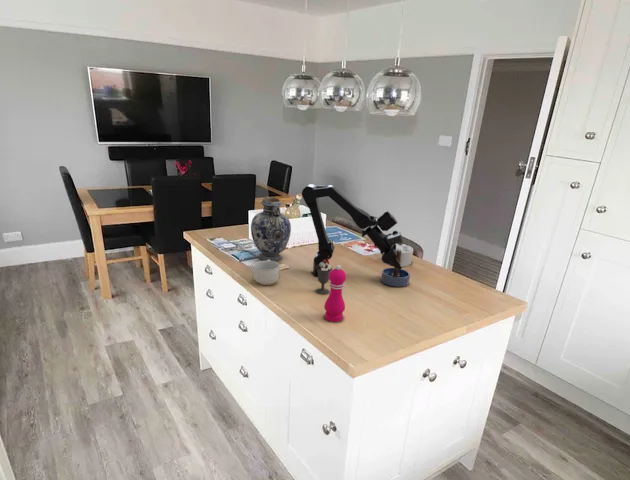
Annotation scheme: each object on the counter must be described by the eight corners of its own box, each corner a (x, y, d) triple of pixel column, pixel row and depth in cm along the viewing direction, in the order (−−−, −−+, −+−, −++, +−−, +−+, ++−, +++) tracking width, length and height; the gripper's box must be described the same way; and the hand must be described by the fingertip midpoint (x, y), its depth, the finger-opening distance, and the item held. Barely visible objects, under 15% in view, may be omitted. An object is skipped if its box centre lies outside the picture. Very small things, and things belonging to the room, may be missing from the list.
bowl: (388, 288, 177) (389, 278, 175) (376, 277, 187) (377, 268, 185) (413, 286, 180) (415, 277, 179) (400, 276, 191) (402, 267, 189)
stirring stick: (396, 283, 181) (401, 252, 176) (389, 281, 183) (393, 250, 177) (400, 281, 184) (404, 250, 178) (392, 278, 186) (397, 248, 180)
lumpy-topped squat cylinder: (383, 261, 208) (385, 244, 205) (400, 257, 216) (402, 241, 213) (399, 267, 201) (402, 250, 198) (416, 263, 209) (419, 246, 206)
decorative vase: (295, 263, 196) (298, 204, 185) (257, 266, 189) (257, 205, 178) (282, 249, 214) (283, 194, 202) (246, 251, 207) (246, 194, 195)
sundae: (332, 290, 171) (335, 255, 165) (327, 296, 165) (330, 260, 159) (317, 287, 173) (319, 252, 166) (311, 292, 167) (314, 257, 161)
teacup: (274, 289, 168) (274, 270, 164) (248, 285, 169) (248, 266, 166) (284, 277, 180) (284, 259, 177) (260, 273, 182) (260, 256, 179)
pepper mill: (322, 313, 151) (326, 261, 143) (342, 313, 152) (347, 261, 144) (324, 322, 145) (328, 268, 136) (345, 322, 145) (350, 269, 137)
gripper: (393, 231, 165) (417, 261, 169) (393, 220, 182) (414, 247, 186) (371, 248, 169) (395, 276, 173) (372, 236, 186) (394, 262, 190)
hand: (400, 265), depth 180 cm, fingers open, 9 cm apart
